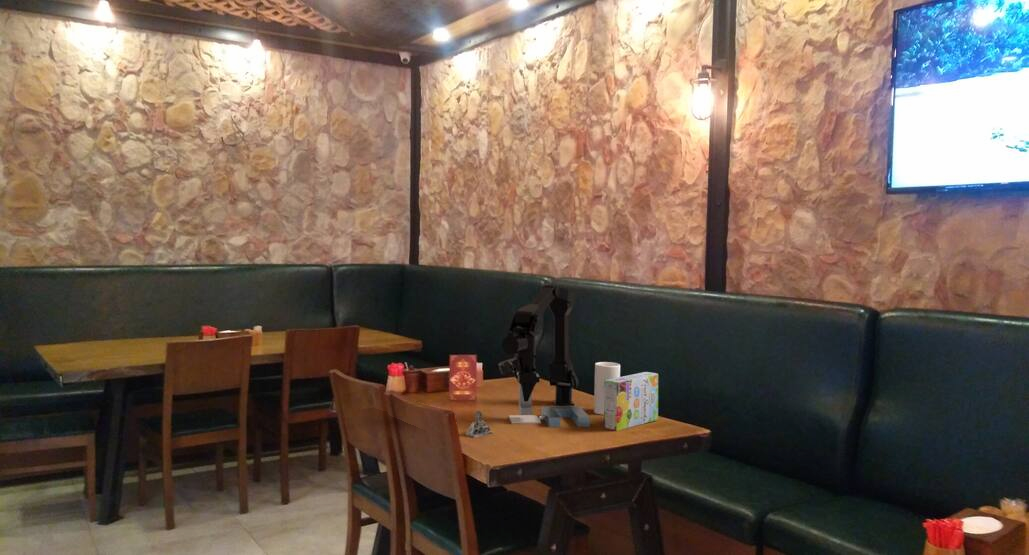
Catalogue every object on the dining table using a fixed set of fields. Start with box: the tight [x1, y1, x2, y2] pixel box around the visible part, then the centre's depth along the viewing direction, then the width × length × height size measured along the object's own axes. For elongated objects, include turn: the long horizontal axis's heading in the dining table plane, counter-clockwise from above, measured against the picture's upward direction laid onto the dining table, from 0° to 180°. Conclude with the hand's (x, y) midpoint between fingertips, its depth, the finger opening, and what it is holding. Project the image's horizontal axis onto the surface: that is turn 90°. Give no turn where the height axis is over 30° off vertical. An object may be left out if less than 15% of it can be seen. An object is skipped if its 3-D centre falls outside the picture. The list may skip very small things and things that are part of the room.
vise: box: [538, 405, 591, 428], centre depth 248 cm, size 15×14×3 cm
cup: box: [593, 361, 621, 416], centre depth 261 cm, size 8×8×16 cm
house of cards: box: [465, 409, 493, 438], centre depth 231 cm, size 9×9×8 cm
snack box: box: [603, 371, 659, 432], centre depth 245 cm, size 21×6×15 cm, turn 135°
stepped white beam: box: [518, 382, 534, 415], centre depth 246 cm, size 7×4×9 cm, turn 7°
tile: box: [508, 414, 542, 424], centre depth 248 cm, size 9×9×1 cm
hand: (525, 400), depth 248 cm, fingers closed on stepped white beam, 3 cm apart
